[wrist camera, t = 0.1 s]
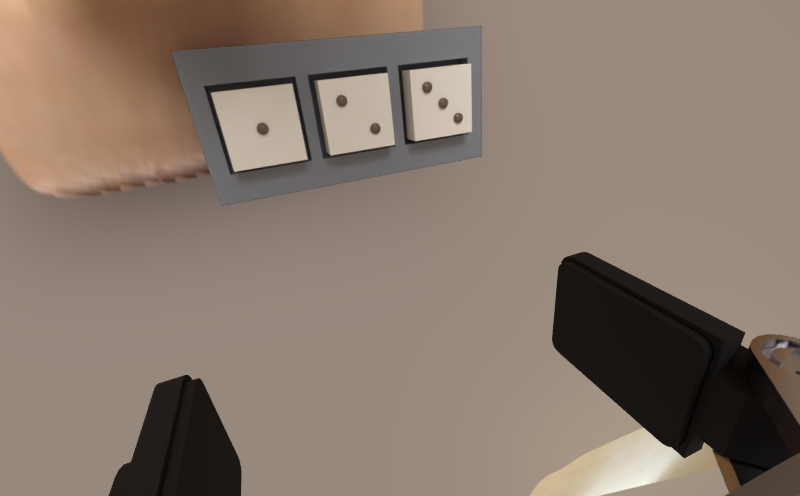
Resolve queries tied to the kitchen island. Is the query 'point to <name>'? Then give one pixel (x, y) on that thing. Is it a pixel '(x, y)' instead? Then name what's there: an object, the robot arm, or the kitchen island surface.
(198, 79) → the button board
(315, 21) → the kitchen island surface
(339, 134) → the tile
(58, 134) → the kitchen island surface
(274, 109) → the tile
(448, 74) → the tile
